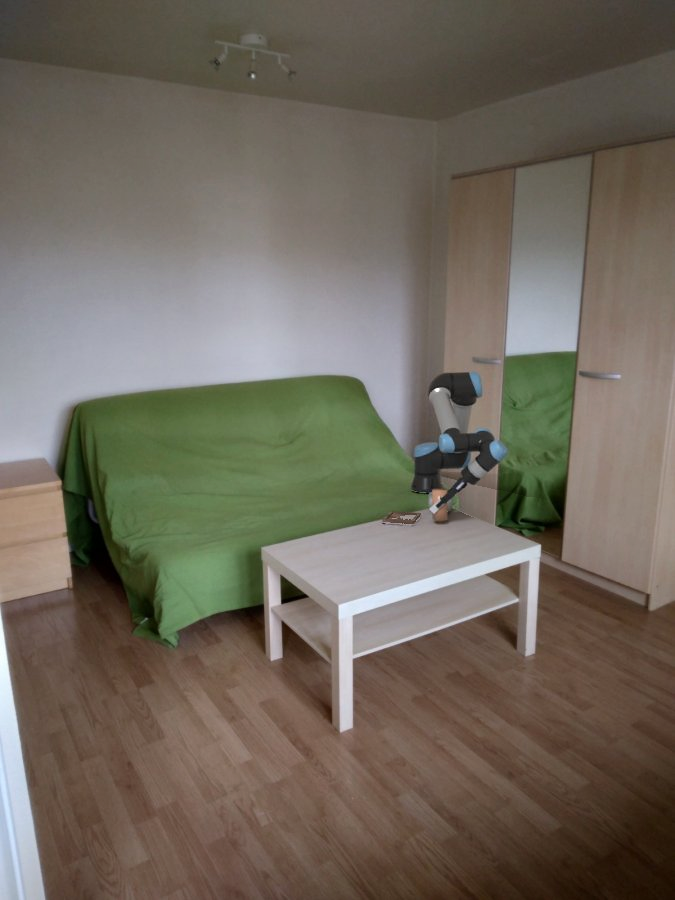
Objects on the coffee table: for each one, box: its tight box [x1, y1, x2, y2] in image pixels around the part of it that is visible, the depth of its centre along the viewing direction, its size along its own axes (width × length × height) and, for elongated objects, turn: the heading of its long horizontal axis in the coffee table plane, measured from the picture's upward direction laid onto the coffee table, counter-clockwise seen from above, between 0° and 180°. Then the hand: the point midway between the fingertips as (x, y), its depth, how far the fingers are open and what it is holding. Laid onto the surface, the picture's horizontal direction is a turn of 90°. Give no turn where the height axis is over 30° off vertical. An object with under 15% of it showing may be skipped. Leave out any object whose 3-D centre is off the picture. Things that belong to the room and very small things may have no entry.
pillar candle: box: [431, 487, 448, 522], centre depth 266 cm, size 6×6×12 cm
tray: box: [381, 510, 422, 524], centre depth 273 cm, size 13×13×2 cm
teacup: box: [427, 492, 455, 512], centre depth 283 cm, size 14×11×8 cm
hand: (433, 508), depth 267 cm, fingers closed on pillar candle, 6 cm apart
